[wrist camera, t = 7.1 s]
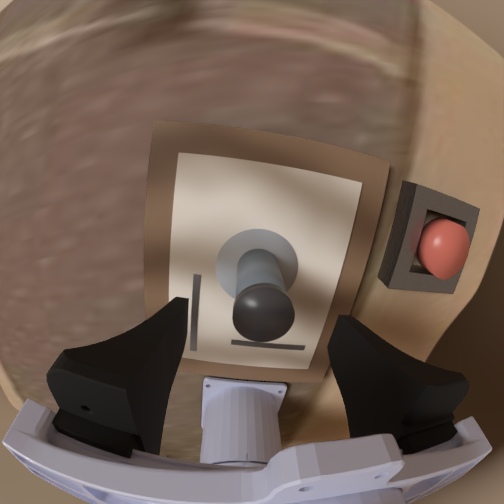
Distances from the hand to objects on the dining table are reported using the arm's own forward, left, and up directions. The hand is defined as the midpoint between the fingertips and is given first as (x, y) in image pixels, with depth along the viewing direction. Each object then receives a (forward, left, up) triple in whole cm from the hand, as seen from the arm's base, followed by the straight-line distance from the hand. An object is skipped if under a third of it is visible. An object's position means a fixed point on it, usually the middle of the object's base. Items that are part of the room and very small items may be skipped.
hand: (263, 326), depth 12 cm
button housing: (+4, -14, -8) cm, 16 cm away
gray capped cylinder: (0, 0, -7) cm, 7 cm away
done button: (+4, -14, -6) cm, 16 cm away
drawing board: (-1, 0, -8) cm, 8 cm away
